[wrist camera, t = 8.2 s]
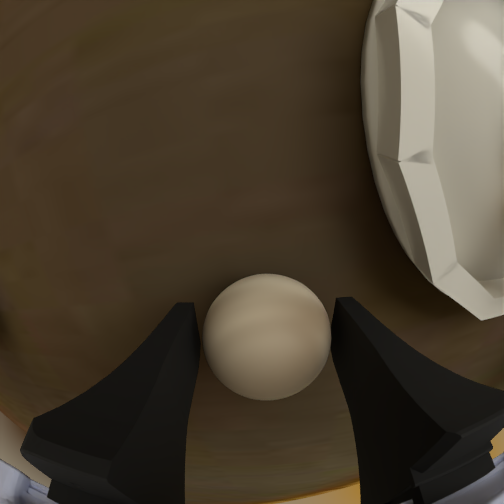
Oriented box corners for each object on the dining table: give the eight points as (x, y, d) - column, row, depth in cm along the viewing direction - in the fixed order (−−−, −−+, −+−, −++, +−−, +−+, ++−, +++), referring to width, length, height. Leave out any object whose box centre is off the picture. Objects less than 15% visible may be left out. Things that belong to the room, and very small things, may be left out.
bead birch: (333, 311, 12) (362, 392, 8) (245, 352, 13) (246, 433, 9) (286, 230, 10) (310, 306, 6) (186, 284, 11) (162, 370, 7)
